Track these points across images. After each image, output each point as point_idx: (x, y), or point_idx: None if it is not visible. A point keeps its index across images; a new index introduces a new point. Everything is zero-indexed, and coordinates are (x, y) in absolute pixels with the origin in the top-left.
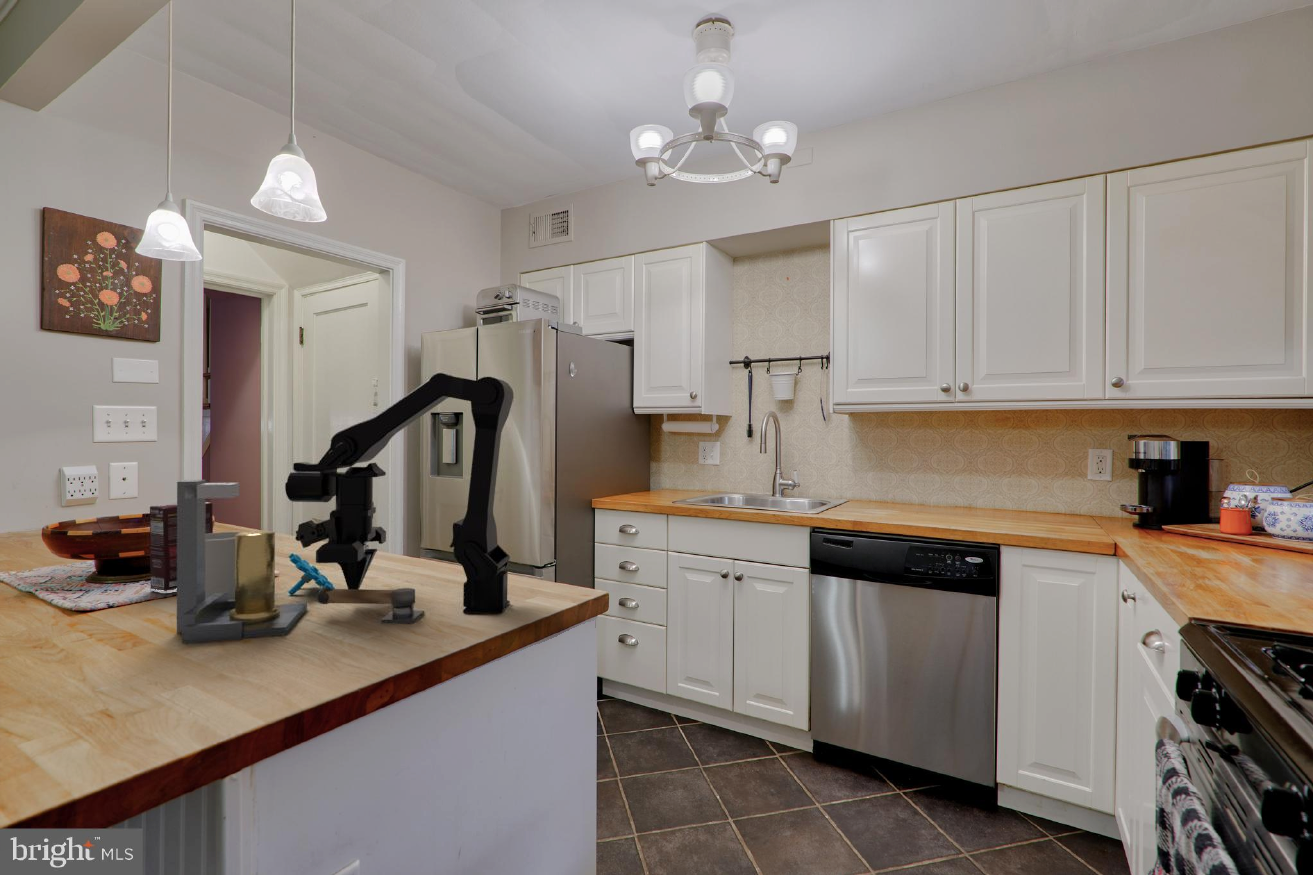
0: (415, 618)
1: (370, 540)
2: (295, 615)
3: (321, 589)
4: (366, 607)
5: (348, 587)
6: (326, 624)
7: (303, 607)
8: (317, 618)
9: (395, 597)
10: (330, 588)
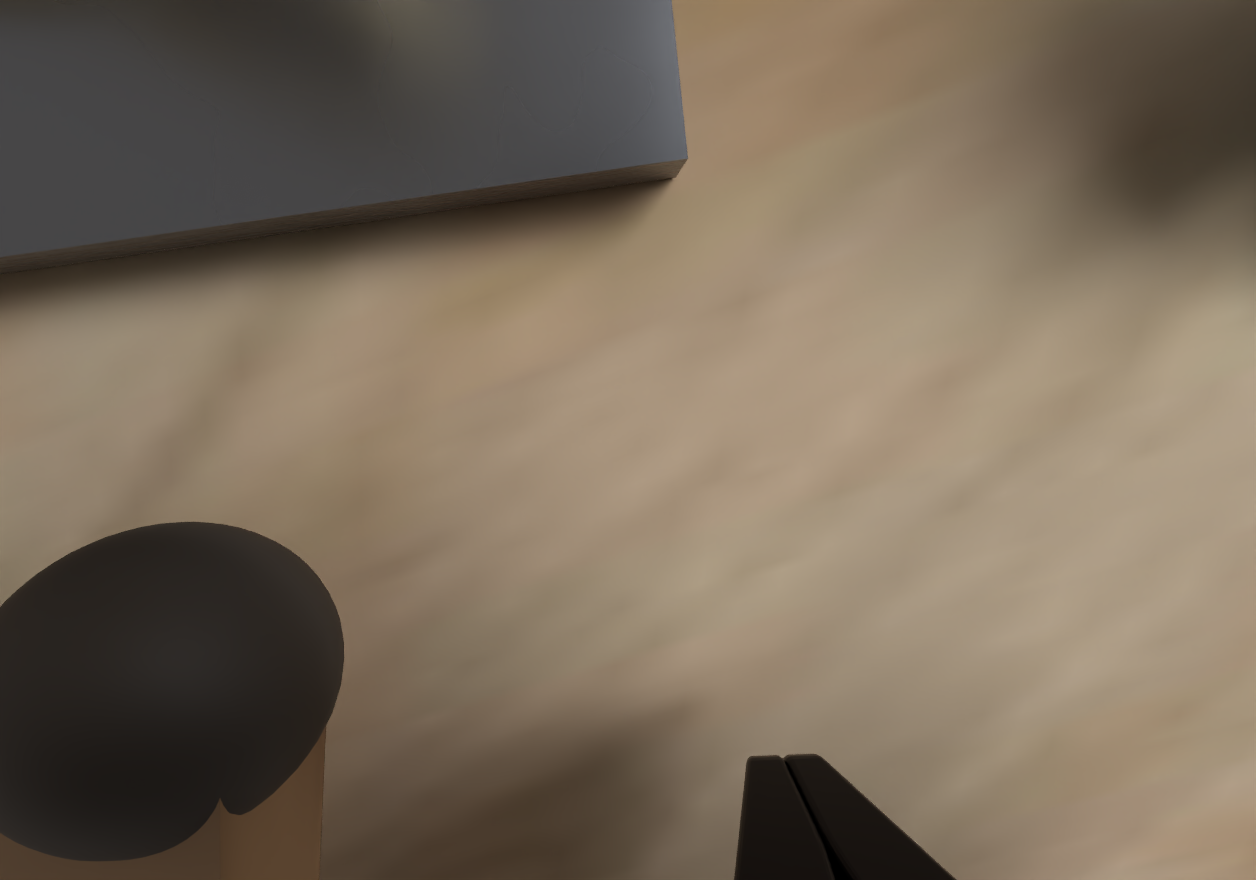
0: None
1: None
2: (18, 245)
3: (7, 698)
4: (700, 785)
5: (742, 839)
6: None
7: (460, 192)
8: (313, 439)
9: None
10: (109, 850)
